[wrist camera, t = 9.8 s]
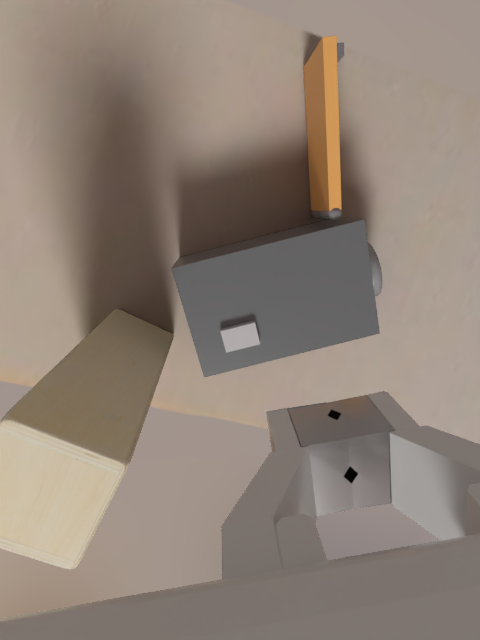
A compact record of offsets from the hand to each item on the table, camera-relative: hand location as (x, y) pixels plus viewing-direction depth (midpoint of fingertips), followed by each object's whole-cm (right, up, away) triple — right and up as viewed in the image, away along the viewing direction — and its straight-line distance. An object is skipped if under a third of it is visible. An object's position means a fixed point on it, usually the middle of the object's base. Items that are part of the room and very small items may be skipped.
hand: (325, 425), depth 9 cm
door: (+5, +19, +25) cm, 31 cm away
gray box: (+1, +6, +29) cm, 29 cm away
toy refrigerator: (-14, 0, +30) cm, 33 cm away
